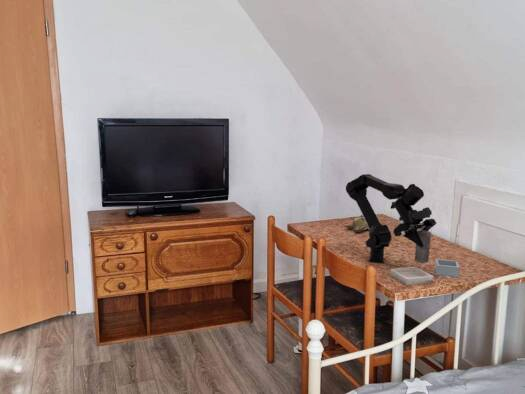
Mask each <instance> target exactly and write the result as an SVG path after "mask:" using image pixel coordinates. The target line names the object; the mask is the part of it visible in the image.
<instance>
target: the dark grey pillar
mask: <svg viewBox="0 0 525 394" xmlns="http://www.w3.org/2000/svg"><path fill="white" fill-rule="evenodd" d="M417 234H418V236H419V238H420V240H421V242H422V244H423V247H420V246H418V245H417V244H415V252H414V254H415V255H414V261H415V262H416V263H420V264H426V263H429V259H430V249H431V237H432V231H430V230H428V231H425V230H421V231H418V230H417Z"/></svg>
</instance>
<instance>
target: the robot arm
mask: <svg viewBox="0 0 525 394" xmlns="http://www.w3.org/2000/svg"><path fill="white" fill-rule="evenodd" d="M368 188H372V189H375V190H377V192H381V194H382V196H383V197H385V198H386V199H388V200H391V201H392V200H395V201H392V202H391V205H390V209H391V210H393V209H395V210H396V212H397V213H398V216H399V217H400V218H398V221H399V220H400V221H403V222H404V223H400V224H399V223H398V225H397V226H396V227H395V228H393V234H394V236H395V237H401V236H403V238H406V239H407V240H410V241H411V242H412V243H414V244H415V245H416V244H417V245H418V246H420V247H423V244H422V242H421V240H420V238H419V236H418V234H417V231H421V230H425V231H430V230H431V229H432V228H433V227H434V226H436V225H437V221H436V220H435V219H434V218H431V215H432V214H433V213H432V210H431V208H430V207H423V208H422V210H417V209H414V208H413V207H414V206H415V205H416V204H417V203H418V202H419V201H421V199H423V198H424V197H425V194H424V191H423V189H421V188H420V187H419V186H416V184H415V183H411V184H409V185H408V187H407V188H405V186H404V185H402V184H399V183H391V182H390V183H389V182H387V181H385V180H383V179H380V178H378V177H376V176H374V175H372V174H371V173H366V174H361V175H359V176H358V177H357V178H356V177H355V179H353V180H351V181H348V182H347V184H346V186H345V191H346V193H347V195H348V196H349V198H351V199H352V200H354V201H355V202H356V204H357V207H358V208H359V210H360V212H361V215H362V216H364V218H365V220H366V222H367V224H368V226H369V228H370V230H368V231H369V233H368V235H369V238H368V239H367V240H365V246H366V248H370V250H369V252H370V253H369V257H368V263H380V264H384V263H385V257H384V254H385V248H389V247H390V243H391V241H392V234H391V233H392V231H390V229H389V227H388V225H387V224H382V223H381V222H380V220H379V219H378V217H377V215H376V213H375V211H374V208H373V207H372V205H371V202H370V201H369V198H368V197H367V192H368V190H367V189H368ZM412 206H413V207H412ZM427 218H428V219H427ZM403 231H404V233H405V235H402V233H401V232H403Z"/></svg>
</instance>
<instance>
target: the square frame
mask: <svg viewBox="0 0 525 394" xmlns="http://www.w3.org/2000/svg"><path fill="white" fill-rule="evenodd" d="M459 265H460V264H459V262H458V261H457V260H450V259H439V258H435V263H434V271H435V275H436V276H442V277H444V276H445V277H453V278H454V277H455V278H459V277H460V266H459Z"/></svg>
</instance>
